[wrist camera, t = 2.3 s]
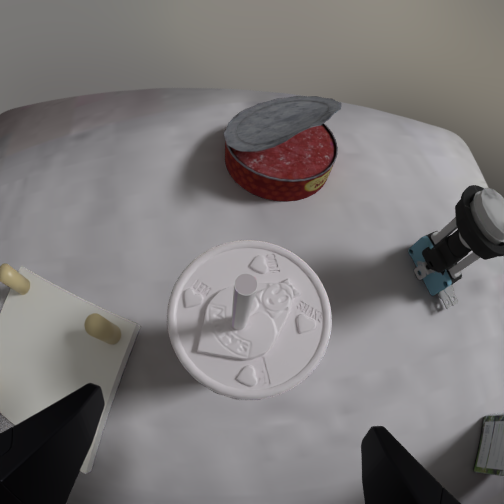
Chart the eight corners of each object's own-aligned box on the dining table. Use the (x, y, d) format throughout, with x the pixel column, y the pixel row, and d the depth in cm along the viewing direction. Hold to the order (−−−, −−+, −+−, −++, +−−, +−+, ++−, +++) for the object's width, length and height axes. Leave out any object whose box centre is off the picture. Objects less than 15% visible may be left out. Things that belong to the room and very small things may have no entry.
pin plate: (91, 471, 15) (66, 483, 11) (-17, 391, 15) (-47, 386, 12) (140, 326, 20) (122, 312, 16) (27, 270, 20) (1, 250, 17)
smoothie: (174, 335, 20) (92, 239, 7) (250, 286, 22) (283, 139, 9) (229, 412, 18) (233, 464, 5) (305, 357, 20) (428, 297, 7)
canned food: (254, 228, 29) (201, 186, 20) (236, 146, 32) (190, 92, 23) (367, 191, 26) (362, 128, 17) (333, 111, 29) (313, 42, 20)
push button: (461, 297, 23) (538, 250, 14) (425, 322, 21) (512, 277, 12) (429, 236, 25) (493, 172, 16) (391, 253, 24) (459, 183, 15)
